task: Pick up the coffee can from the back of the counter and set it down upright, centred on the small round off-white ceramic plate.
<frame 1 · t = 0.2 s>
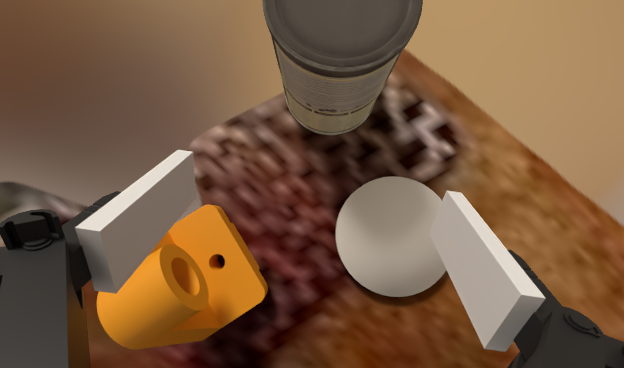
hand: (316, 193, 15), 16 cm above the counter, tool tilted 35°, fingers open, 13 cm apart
plate: (392, 234, 30), on the counter
coffee can: (330, 93, 33), on the counter
bracket: (217, 263, 30), on the counter
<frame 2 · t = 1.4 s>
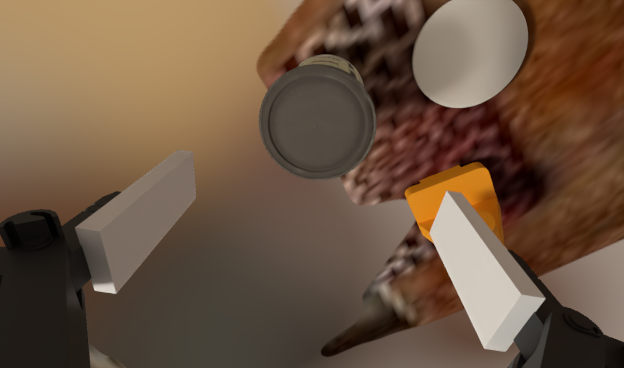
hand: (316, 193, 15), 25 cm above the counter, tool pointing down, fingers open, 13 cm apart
plate: (465, 53, 34), on the counter
coffee can: (325, 96, 38), on the counter
bracket: (445, 192, 42), on the counter
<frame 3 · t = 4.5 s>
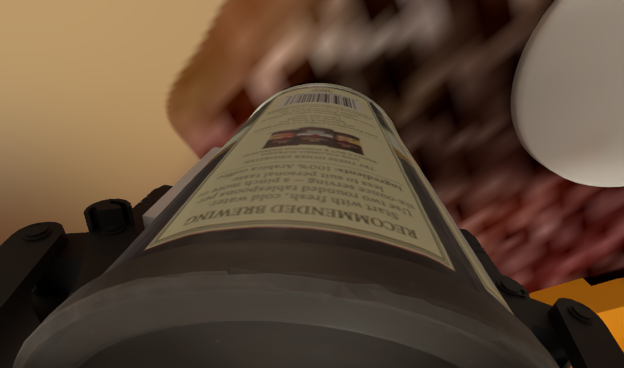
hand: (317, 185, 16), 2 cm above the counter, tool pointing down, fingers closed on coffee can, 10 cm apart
coffee can: (320, 166, 18), on the counter, touching gripper
bracket: (548, 316, 23), on the counter
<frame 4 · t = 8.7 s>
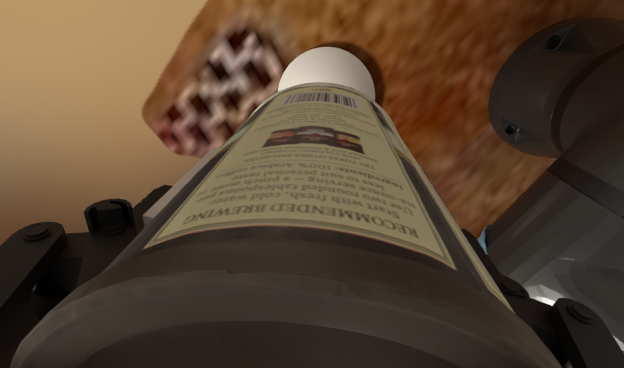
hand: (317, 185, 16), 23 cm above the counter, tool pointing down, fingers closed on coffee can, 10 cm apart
plate: (326, 98, 37), on the counter
coffee can: (320, 166, 18), point 21 cm above the counter, touching gripper
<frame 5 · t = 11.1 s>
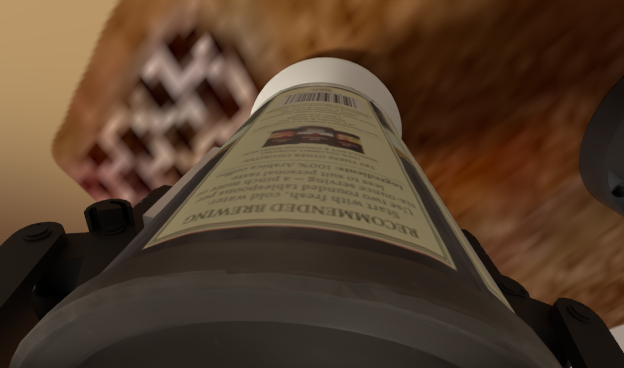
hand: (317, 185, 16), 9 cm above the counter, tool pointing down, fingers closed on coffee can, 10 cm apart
plate: (324, 136, 24), on the counter
coffee can: (320, 166, 18), point 6 cm above the counter, touching gripper
when the fingers open (5 cm above the counter, at t = 13.0 s): coffee can drops 1 cm, resting on plate.
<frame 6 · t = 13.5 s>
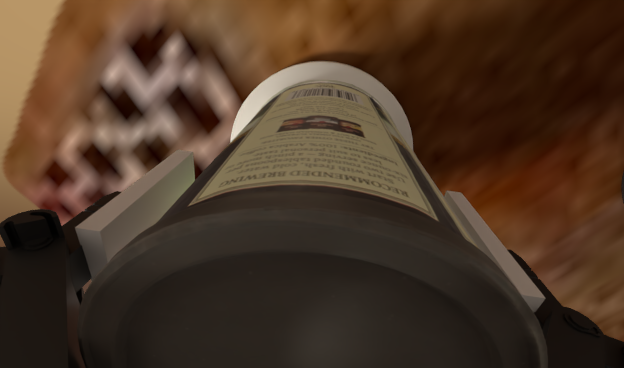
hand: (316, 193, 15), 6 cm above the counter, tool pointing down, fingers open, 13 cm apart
plate: (320, 153, 20), on the counter
coffee can: (323, 159, 19), point 1 cm above the counter, touching plate
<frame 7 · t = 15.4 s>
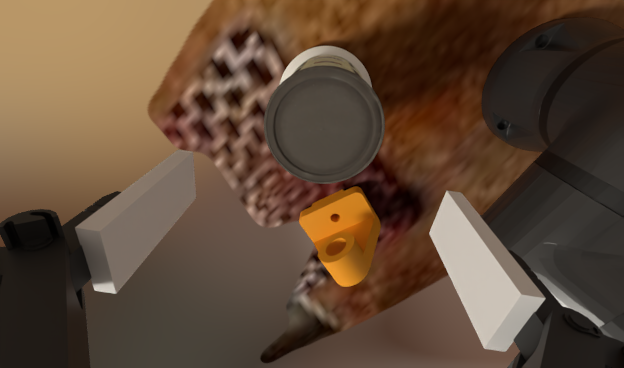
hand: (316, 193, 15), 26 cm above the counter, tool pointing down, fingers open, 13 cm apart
plate: (325, 95, 38), on the counter
coffee can: (326, 97, 37), point 1 cm above the counter, touching plate
bracket: (338, 212, 47), on the counter
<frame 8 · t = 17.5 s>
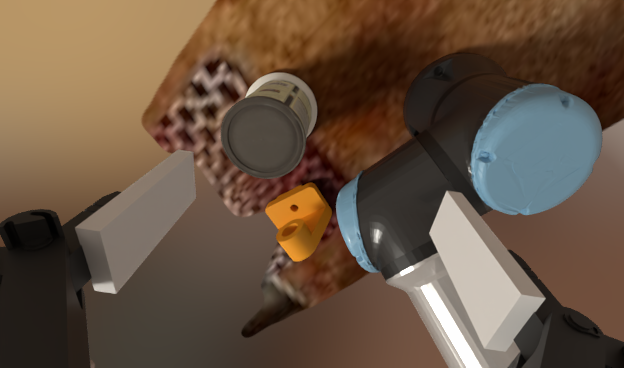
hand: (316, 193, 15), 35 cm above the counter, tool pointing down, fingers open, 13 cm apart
plate: (281, 110, 48), on the counter
coffee can: (281, 111, 47), point 1 cm above the counter, touching plate
bracket: (299, 204, 57), on the counter
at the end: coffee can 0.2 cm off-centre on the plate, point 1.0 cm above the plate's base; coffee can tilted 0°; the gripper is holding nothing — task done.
